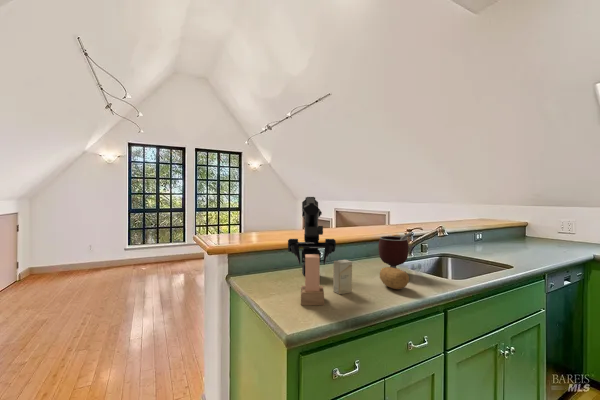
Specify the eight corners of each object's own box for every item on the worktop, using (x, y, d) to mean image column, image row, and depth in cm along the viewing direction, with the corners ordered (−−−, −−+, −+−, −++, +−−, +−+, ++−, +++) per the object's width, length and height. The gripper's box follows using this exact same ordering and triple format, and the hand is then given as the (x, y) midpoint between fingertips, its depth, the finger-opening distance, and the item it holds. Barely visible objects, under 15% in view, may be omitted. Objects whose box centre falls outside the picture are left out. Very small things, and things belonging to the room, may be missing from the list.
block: (305, 286, 105) (305, 254, 104) (318, 286, 105) (318, 254, 104) (305, 291, 100) (305, 257, 99) (319, 291, 100) (319, 257, 99)
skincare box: (339, 294, 108) (339, 263, 108) (332, 291, 112) (332, 260, 112) (352, 292, 111) (352, 261, 111) (345, 288, 115) (345, 259, 115)
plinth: (301, 296, 106) (301, 285, 106) (322, 296, 106) (322, 285, 106) (300, 305, 98) (300, 292, 98) (324, 305, 98) (324, 292, 98)
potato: (391, 281, 125) (391, 263, 125) (415, 291, 112) (415, 271, 112) (373, 284, 121) (373, 265, 121) (395, 295, 108) (395, 274, 108)
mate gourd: (378, 276, 133) (379, 233, 133) (377, 268, 147) (378, 229, 146) (414, 278, 129) (414, 234, 129) (409, 270, 143) (410, 230, 142)
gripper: (288, 218, 112) (286, 252, 101) (335, 218, 112) (338, 252, 101) (289, 235, 120) (287, 268, 110) (333, 235, 120) (336, 268, 109)
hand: (311, 264), depth 107 cm, fingers open, 9 cm apart
